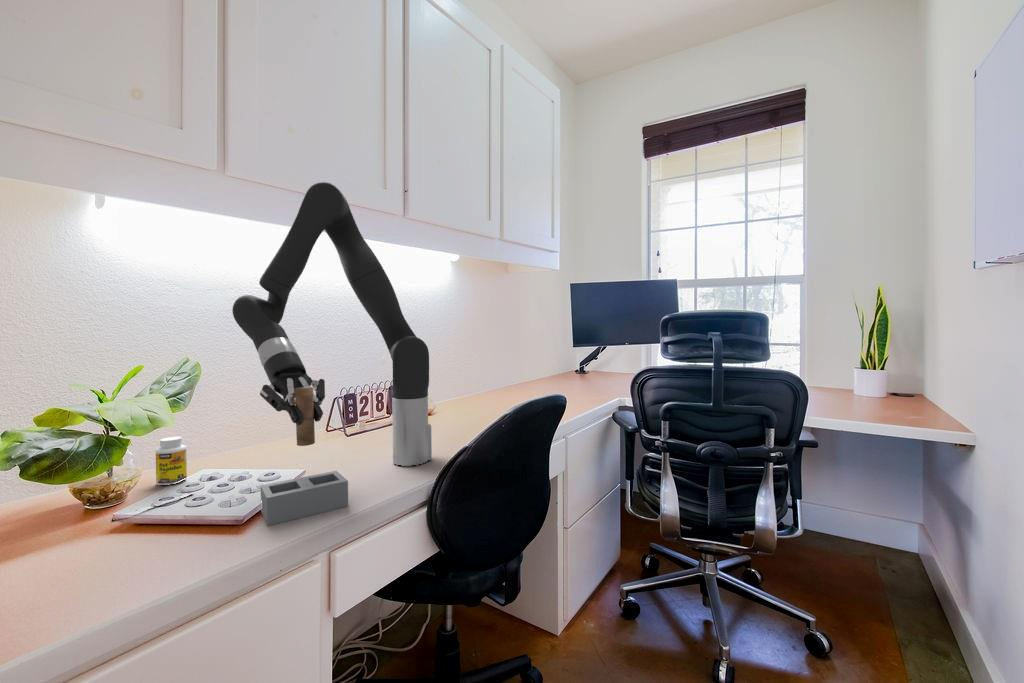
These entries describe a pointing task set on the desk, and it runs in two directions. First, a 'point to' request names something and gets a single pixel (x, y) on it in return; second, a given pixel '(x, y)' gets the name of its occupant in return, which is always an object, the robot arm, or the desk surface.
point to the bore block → (303, 497)
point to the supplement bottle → (171, 461)
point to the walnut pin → (305, 416)
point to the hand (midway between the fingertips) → (309, 420)
